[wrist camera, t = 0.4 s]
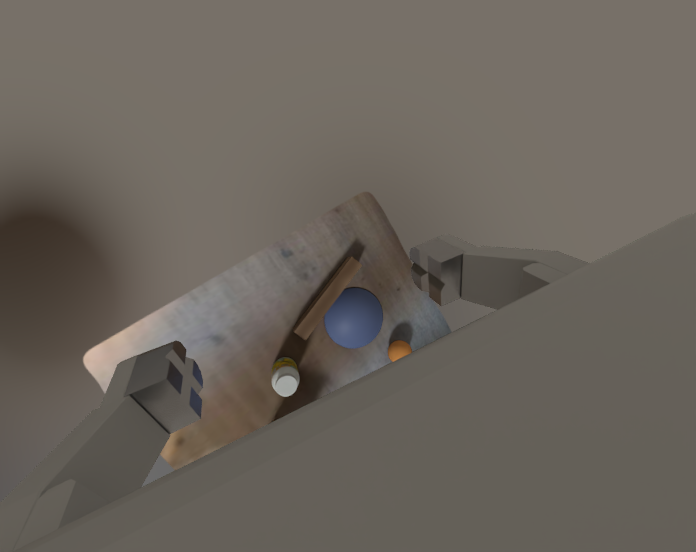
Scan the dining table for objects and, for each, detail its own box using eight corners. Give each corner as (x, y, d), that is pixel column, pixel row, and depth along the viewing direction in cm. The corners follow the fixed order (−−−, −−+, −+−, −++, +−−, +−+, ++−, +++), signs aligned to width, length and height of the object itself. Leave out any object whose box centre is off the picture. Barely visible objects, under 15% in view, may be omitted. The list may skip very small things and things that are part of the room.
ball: (409, 346, 68) (420, 352, 63) (396, 365, 67) (407, 372, 62) (393, 333, 67) (403, 338, 62) (379, 352, 66) (389, 359, 61)
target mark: (393, 311, 67) (393, 311, 67) (359, 359, 65) (359, 359, 65) (349, 275, 64) (349, 275, 64) (312, 325, 62) (312, 325, 62)
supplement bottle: (268, 377, 60) (266, 396, 51) (277, 353, 60) (277, 368, 51) (291, 383, 61) (294, 403, 52) (300, 360, 62) (305, 376, 52)
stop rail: (357, 265, 65) (362, 265, 61) (303, 336, 62) (305, 340, 58) (347, 257, 64) (351, 256, 60) (292, 328, 61) (294, 332, 57)
